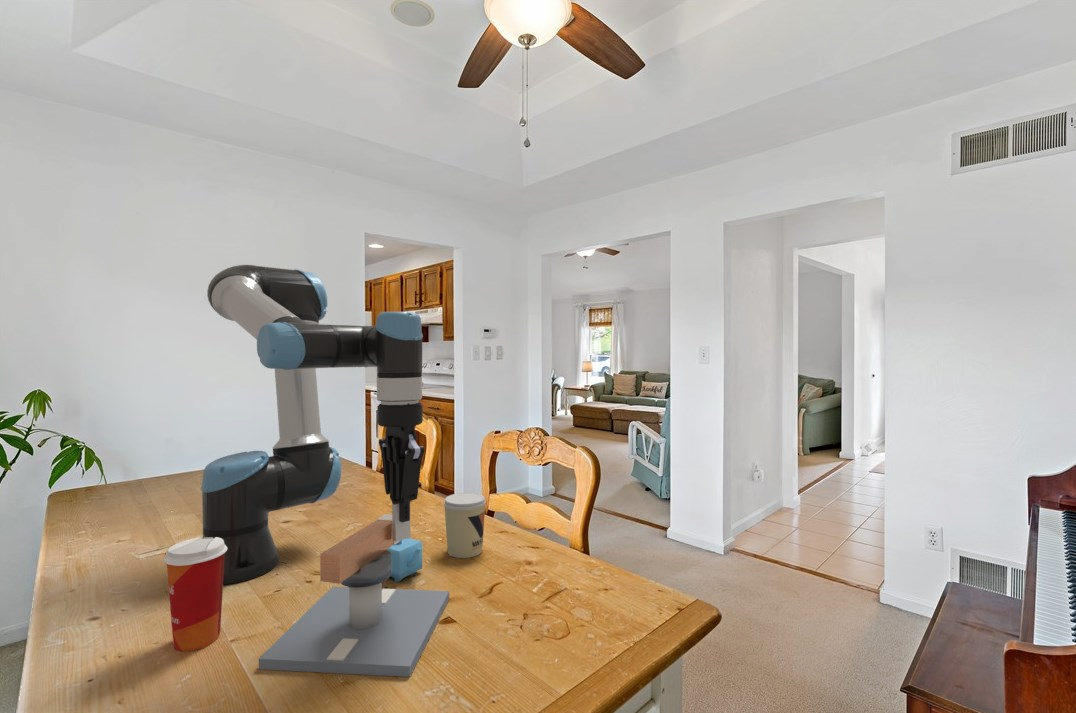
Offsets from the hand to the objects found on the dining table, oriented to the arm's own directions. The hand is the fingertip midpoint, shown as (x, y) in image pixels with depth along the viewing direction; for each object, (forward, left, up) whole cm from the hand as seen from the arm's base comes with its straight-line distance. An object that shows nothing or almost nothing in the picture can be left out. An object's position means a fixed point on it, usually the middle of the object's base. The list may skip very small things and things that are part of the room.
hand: (401, 538), depth 88 cm
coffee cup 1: (-29, -11, -13) cm, 34 cm away
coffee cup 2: (+5, +27, -13) cm, 31 cm away
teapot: (-5, +14, -13) cm, 20 cm away
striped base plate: (-4, -6, -13) cm, 15 cm away
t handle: (-4, -6, -4) cm, 8 cm away
